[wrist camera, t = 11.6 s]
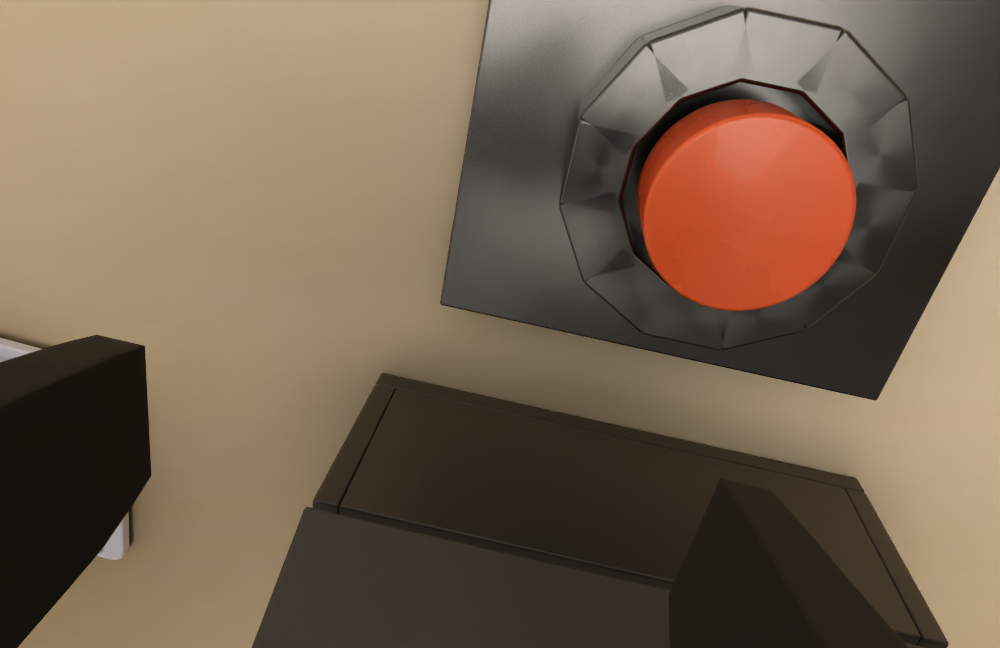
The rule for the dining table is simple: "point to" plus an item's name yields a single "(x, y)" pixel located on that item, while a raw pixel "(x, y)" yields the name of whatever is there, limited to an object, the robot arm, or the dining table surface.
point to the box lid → (446, 595)
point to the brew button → (744, 205)
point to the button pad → (680, 91)
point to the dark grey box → (589, 492)
